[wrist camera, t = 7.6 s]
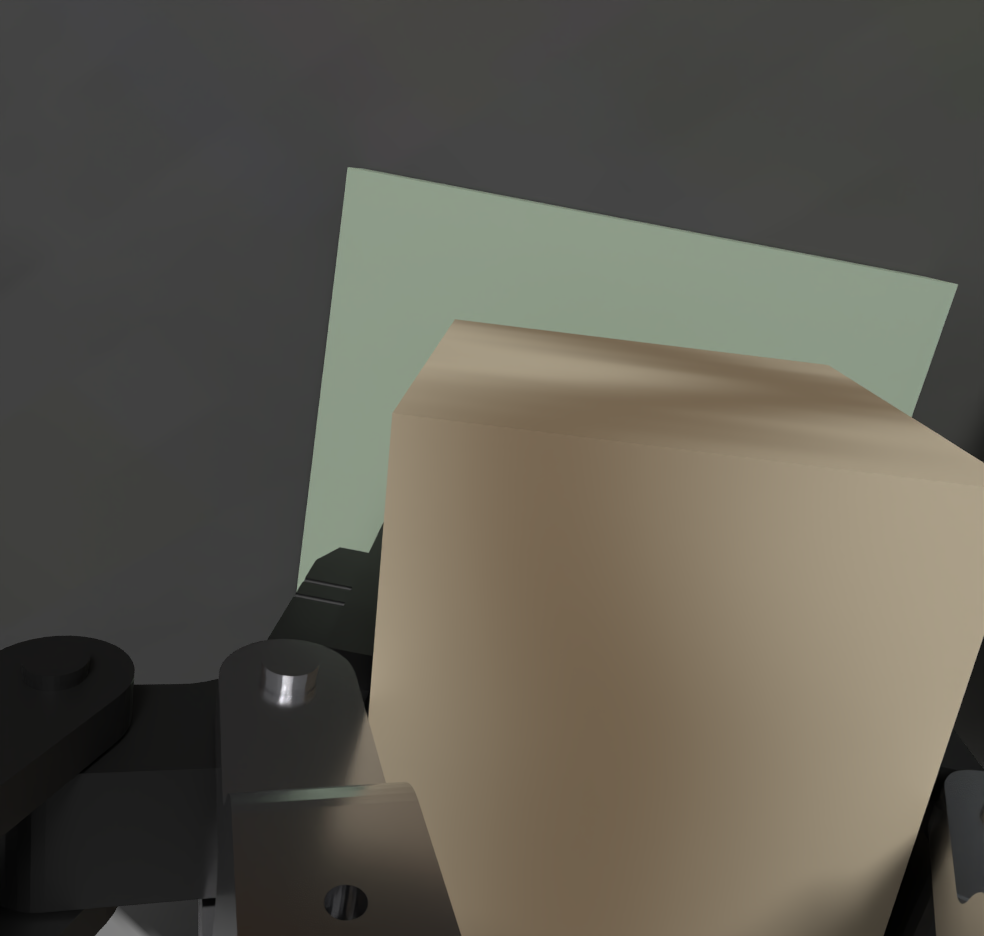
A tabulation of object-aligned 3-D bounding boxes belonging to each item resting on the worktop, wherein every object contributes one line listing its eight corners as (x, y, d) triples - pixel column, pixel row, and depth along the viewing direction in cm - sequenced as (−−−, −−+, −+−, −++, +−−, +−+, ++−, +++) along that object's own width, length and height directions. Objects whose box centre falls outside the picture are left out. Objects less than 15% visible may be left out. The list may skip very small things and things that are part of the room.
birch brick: (827, 364, 11) (1030, 492, 7) (711, 848, 14) (797, 1190, 9) (454, 319, 11) (392, 413, 7) (406, 807, 14) (336, 1125, 9)
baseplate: (922, 275, 17) (958, 284, 15) (764, 747, 20) (780, 789, 19) (365, 169, 17) (348, 167, 15) (302, 658, 20) (284, 693, 19)
